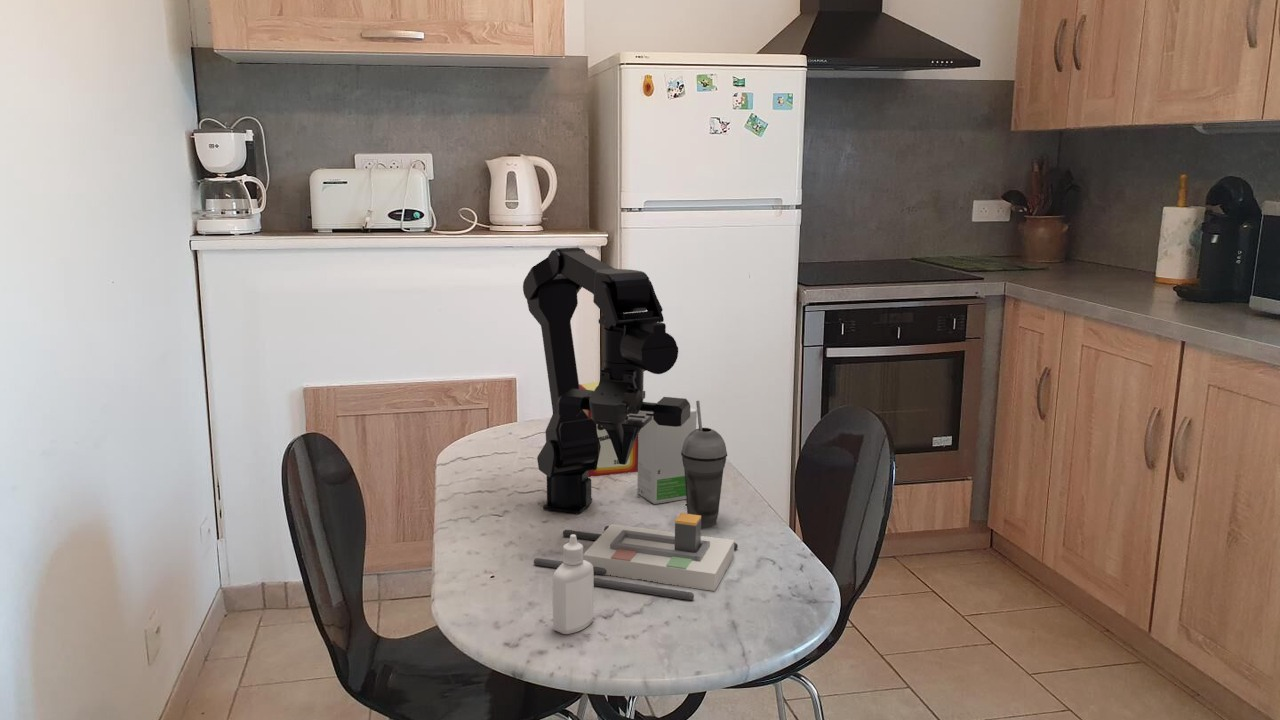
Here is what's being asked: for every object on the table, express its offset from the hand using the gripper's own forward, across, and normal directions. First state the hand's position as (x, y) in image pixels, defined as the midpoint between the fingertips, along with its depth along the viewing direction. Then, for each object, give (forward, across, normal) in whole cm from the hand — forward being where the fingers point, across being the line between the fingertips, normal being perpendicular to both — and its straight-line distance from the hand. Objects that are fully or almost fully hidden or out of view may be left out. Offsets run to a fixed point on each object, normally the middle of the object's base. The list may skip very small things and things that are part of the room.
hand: (623, 463), depth 143 cm
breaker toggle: (+10, +11, -4) cm, 16 cm away
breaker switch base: (+13, +7, -4) cm, 15 cm away
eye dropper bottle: (+13, +2, -25) cm, 28 cm away
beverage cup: (+13, +9, +13) cm, 21 cm away
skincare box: (+13, 0, +23) cm, 27 cm away
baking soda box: (+13, -14, +33) cm, 38 cm away
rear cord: (+13, +3, +3) cm, 14 cm away
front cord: (+13, +2, -12) cm, 18 cm away
